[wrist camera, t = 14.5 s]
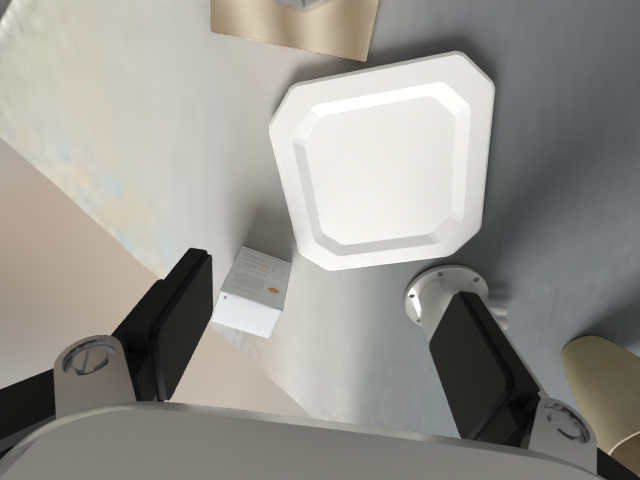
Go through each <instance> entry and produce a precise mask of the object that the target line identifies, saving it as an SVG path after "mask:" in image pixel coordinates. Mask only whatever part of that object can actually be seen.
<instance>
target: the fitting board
mask: <svg viewBox="0 0 640 480" xmlns="http://www.w3.org/2000/svg"><path fill="white" fill-rule="evenodd" d="M378 3H379V0H333V1H332V2H329V3H327V4H325V5H323V6H321V7H319V8H317V9H315V10H313V11H311V12H308V13H303V12H298V11H293V10H288V9H283V8H279V7H278V6H277V5H276V4H275V3H274V2H273V1H272V0H211V32H214V33H219V34H224V35H229V36H234V37H239V38H244V39H249V40H255V41H260V42H265V43H270V44H275V45H280V46H285V47H290V48H295V49H300V50H305V51H310V52H315V53H320V54H325V55H331V56H336V57H341V58H346V59H351V60H356V61H361V62H366V60H367V55H368V50H369V46H370V41H371V36H372V31H373V27H374V22H375V17H376V12H377V8H378Z"/></svg>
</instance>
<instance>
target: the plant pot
mask: <svg viewBox="0 0 640 480" xmlns="http://www.w3.org/2000/svg"><path fill="white" fill-rule="evenodd" d="M561 359H562V363H563V366H564V370H565V373H566V376H567V379H568V382H569V385H570V388H571V390H572V393H573V395H574V398H575V400H576V403H577V405H578V407H579V410H580V412H581V414H582V416H583V418H584V419H585V420H586V421H587V422H588V424H589V425H590V426H591V428H592V429H593V431H594V433H595V435H596V440H597V446H598V448H600V449H601V450H603V451H604V452H605V453H607V454H608V455H610V456H611V457H612V458H614V459H615V460H617V461H618V462H619V463H621V464H622V465H624V466H625V467H626V468H628V469H629V470H631V471H632V472H633V473H635V474H636V475H638V476H639V477H640V357H638V356H636V355H635V354H633V353H631V352H629V351H627V350H626V349H624V348H622V347H620V346H618V345H616V344H614V343H612V342H610V341H608V340H606V339H604V338H602V337H599V336H584V337H580V338H577V339H575V340H573V341H571V342H570V343H568V344H567V345H566V346H565V347H564V348H563V349H562V351H561Z"/></svg>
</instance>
